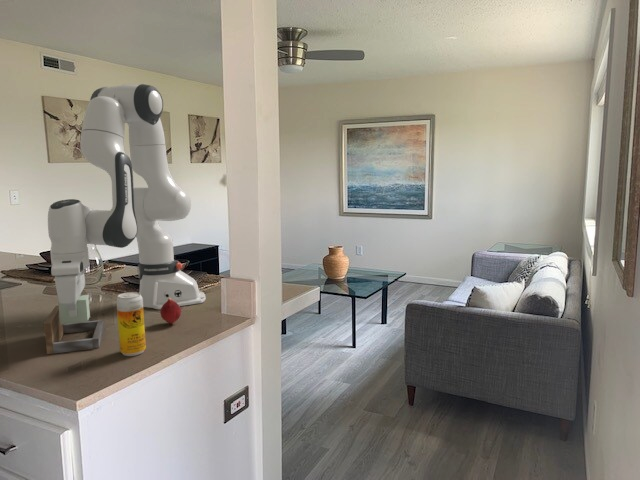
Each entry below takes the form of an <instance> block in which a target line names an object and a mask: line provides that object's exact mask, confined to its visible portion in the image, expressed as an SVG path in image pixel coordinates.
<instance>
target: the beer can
mask: <svg viewBox="0 0 640 480" xmlns="http://www.w3.org/2000/svg"><path fill="white" fill-rule="evenodd" d="M116 313H117V326H118V327H117V328H118V339H119V352H120V353H122V355H123V356H125V357H135V356H139V355H141V354H143V353H144V351H145V350H146V348H147V344H146V343H147V342H146V332H145V327H146V326H145V317H144V316H145V314H144V307H143V298H142V296H141V294H140V293H139V292H136V291H131V292H128V291H127V292H124V293H119V294H118V295H117V298H116Z"/></svg>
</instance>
